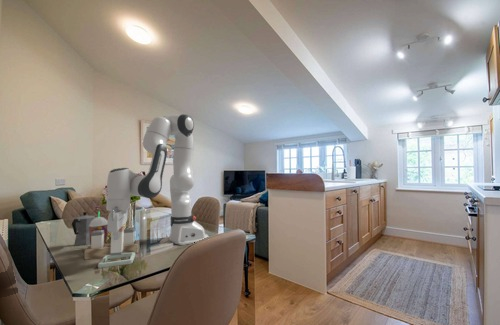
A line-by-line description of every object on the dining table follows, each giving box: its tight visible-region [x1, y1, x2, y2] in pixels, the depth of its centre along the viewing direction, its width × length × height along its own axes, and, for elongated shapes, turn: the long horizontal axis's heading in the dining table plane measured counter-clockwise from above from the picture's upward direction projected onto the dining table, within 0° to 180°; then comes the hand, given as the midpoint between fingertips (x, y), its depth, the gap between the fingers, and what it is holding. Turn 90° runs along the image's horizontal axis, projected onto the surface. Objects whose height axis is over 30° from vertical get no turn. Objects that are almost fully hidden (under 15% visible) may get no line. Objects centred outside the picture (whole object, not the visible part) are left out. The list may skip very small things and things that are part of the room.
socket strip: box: [84, 240, 140, 261], centre depth 107 cm, size 21×7×6 cm, turn 109°
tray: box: [97, 252, 136, 269], centre depth 97 cm, size 12×10×3 cm
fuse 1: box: [91, 230, 104, 249], centre depth 105 cm, size 4×4×11 cm
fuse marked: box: [110, 225, 125, 256], centre depth 97 cm, size 4×4×11 cm
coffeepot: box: [71, 211, 96, 247], centre depth 124 cm, size 15×9×18 cm, turn 1°
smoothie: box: [89, 210, 109, 246], centre depth 114 cm, size 8×8×20 cm
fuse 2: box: [123, 226, 136, 245], centre depth 109 cm, size 4×4×11 cm
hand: (117, 237), depth 98 cm, fingers closed on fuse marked, 4 cm apart
